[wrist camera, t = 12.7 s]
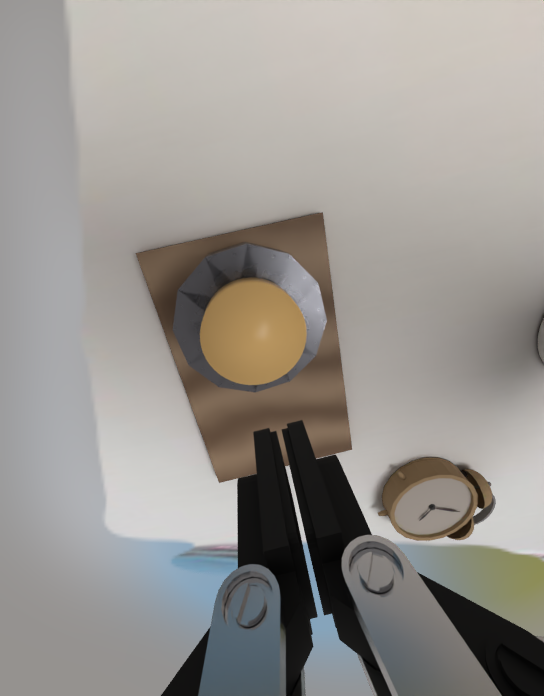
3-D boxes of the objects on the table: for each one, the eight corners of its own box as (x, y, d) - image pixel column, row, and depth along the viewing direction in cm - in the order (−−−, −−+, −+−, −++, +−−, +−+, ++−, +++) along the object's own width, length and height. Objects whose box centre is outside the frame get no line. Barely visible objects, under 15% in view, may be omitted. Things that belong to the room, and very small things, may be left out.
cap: (306, 309, 28) (327, 333, 22) (251, 365, 30) (257, 402, 23) (246, 251, 26) (250, 259, 19) (190, 315, 27) (176, 342, 21)
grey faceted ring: (337, 307, 29) (353, 318, 25) (253, 392, 31) (256, 414, 27) (243, 212, 25) (245, 209, 21) (154, 317, 27) (142, 331, 23)
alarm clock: (407, 467, 36) (528, 494, 36) (393, 441, 40) (500, 466, 41) (375, 535, 39) (485, 558, 40) (366, 504, 44) (464, 525, 44)
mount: (348, 442, 37) (352, 449, 35) (219, 475, 36) (219, 482, 35) (318, 213, 27) (322, 212, 25) (139, 252, 26) (135, 253, 25)
